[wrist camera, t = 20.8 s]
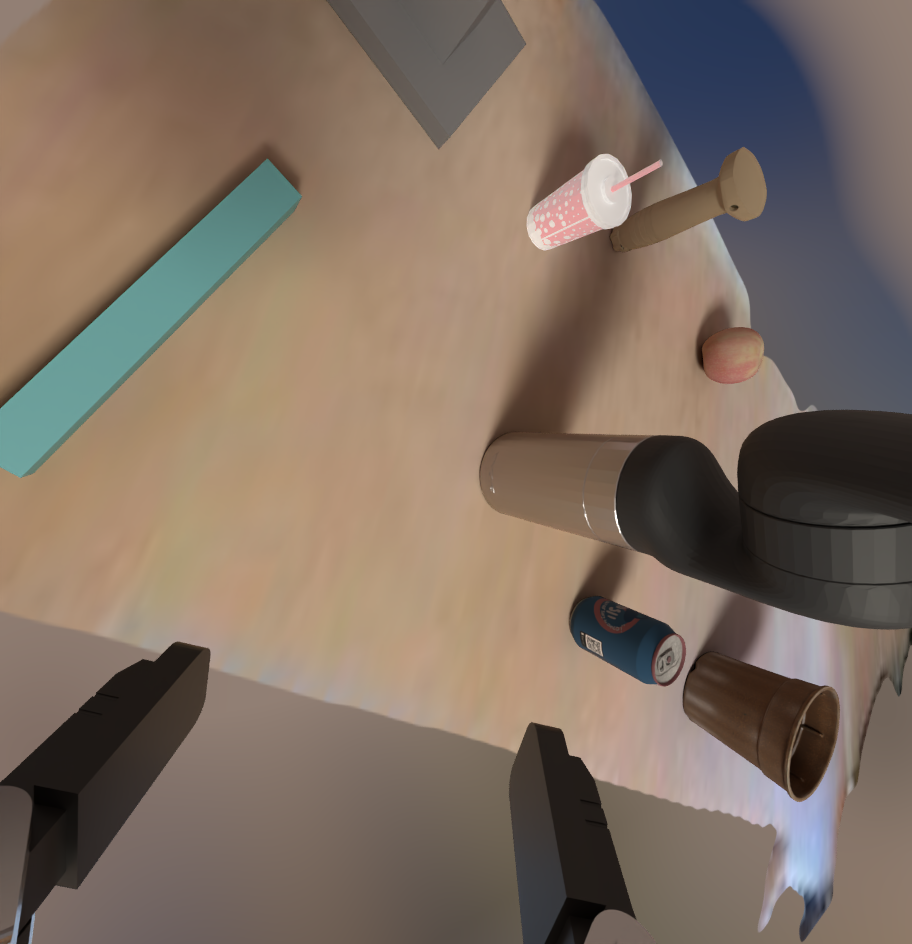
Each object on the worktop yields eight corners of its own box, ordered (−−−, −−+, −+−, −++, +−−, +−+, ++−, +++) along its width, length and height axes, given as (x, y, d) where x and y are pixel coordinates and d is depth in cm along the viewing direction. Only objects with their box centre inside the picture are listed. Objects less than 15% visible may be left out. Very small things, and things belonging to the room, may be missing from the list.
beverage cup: (570, 230, 50) (691, 170, 38) (546, 269, 49) (662, 220, 37) (539, 184, 47) (659, 103, 35) (511, 224, 46) (626, 154, 34)
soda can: (599, 584, 58) (687, 618, 48) (605, 630, 60) (691, 672, 50) (562, 606, 55) (648, 647, 45) (569, 654, 56) (653, 704, 46)
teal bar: (261, 178, 33) (267, 158, 31) (293, 212, 35) (302, 196, 32) (-19, 443, 27) (-40, 445, 24) (35, 472, 28) (20, 477, 26)
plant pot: (673, 750, 72) (787, 826, 58) (673, 659, 70) (793, 717, 56) (725, 709, 80) (836, 767, 67) (727, 626, 78) (843, 669, 64)
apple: (701, 396, 67) (759, 393, 60) (681, 359, 63) (741, 351, 56) (722, 360, 69) (780, 352, 62) (704, 321, 65) (764, 310, 59)
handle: (625, 272, 55) (757, 227, 43) (595, 239, 52) (727, 179, 39) (637, 240, 56) (771, 186, 43) (608, 205, 53) (743, 135, 40)
